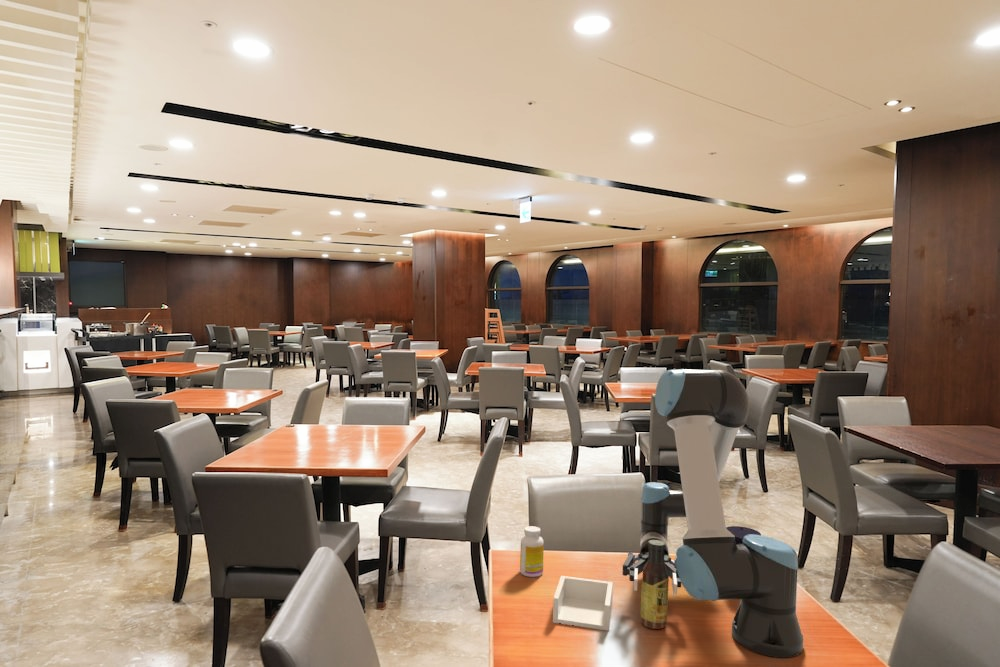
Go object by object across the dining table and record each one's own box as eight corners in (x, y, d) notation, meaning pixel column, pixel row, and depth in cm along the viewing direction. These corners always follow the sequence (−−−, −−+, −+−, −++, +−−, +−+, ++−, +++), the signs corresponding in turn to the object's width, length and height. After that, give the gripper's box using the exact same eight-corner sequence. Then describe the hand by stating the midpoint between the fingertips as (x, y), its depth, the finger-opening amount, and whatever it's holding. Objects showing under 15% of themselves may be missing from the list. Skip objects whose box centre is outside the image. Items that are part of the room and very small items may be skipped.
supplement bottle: (547, 574, 171) (548, 530, 171) (529, 579, 168) (530, 534, 167) (533, 566, 177) (534, 523, 176) (515, 571, 173) (516, 527, 173)
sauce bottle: (660, 633, 140) (663, 550, 140) (635, 624, 144) (638, 543, 144) (671, 622, 146) (673, 542, 145) (646, 614, 149) (649, 535, 149)
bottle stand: (560, 598, 157) (561, 575, 157) (612, 605, 154) (612, 582, 154) (552, 622, 144) (553, 598, 144) (609, 630, 141) (609, 605, 141)
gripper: (694, 569, 160) (702, 609, 138) (614, 560, 165) (609, 597, 143) (695, 542, 159) (703, 577, 137) (615, 533, 164) (610, 565, 142)
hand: (655, 587), depth 140 cm, fingers open, 8 cm apart
